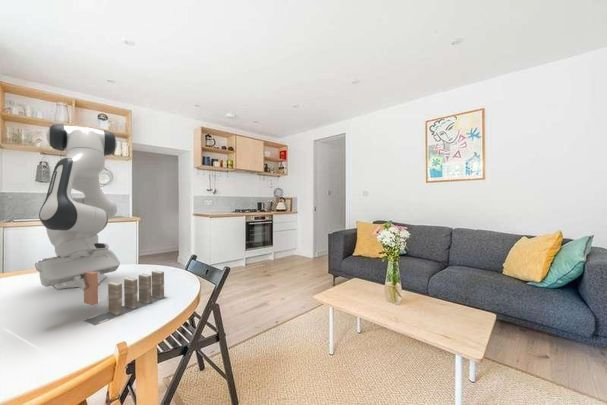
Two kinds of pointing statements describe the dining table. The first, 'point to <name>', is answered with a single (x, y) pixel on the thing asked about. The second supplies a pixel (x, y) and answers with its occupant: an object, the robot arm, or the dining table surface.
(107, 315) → the slate mat
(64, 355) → the dining table surface
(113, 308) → the domino
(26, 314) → the dining table surface
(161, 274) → the domino
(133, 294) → the domino
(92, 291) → the terracotta domino
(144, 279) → the domino
